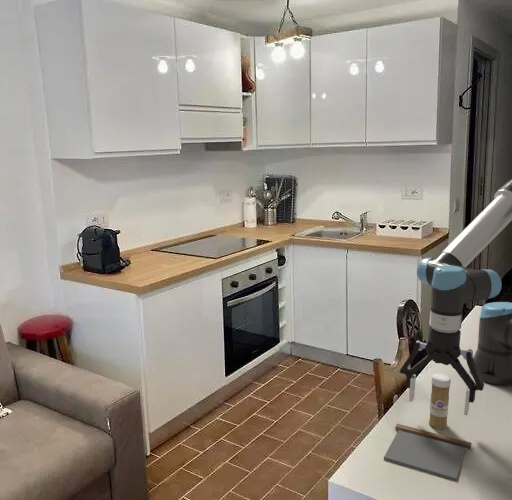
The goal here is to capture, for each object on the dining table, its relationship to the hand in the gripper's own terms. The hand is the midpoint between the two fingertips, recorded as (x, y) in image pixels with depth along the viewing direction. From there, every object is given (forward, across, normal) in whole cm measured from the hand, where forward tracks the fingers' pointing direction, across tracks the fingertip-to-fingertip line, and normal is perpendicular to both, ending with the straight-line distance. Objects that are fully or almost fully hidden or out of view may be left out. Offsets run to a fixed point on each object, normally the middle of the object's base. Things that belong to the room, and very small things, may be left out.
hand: (438, 406), depth 135 cm
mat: (+6, 0, -15) cm, 16 cm away
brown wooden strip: (+6, 0, -7) cm, 9 cm away
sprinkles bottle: (+6, 0, 0) cm, 6 cm away
